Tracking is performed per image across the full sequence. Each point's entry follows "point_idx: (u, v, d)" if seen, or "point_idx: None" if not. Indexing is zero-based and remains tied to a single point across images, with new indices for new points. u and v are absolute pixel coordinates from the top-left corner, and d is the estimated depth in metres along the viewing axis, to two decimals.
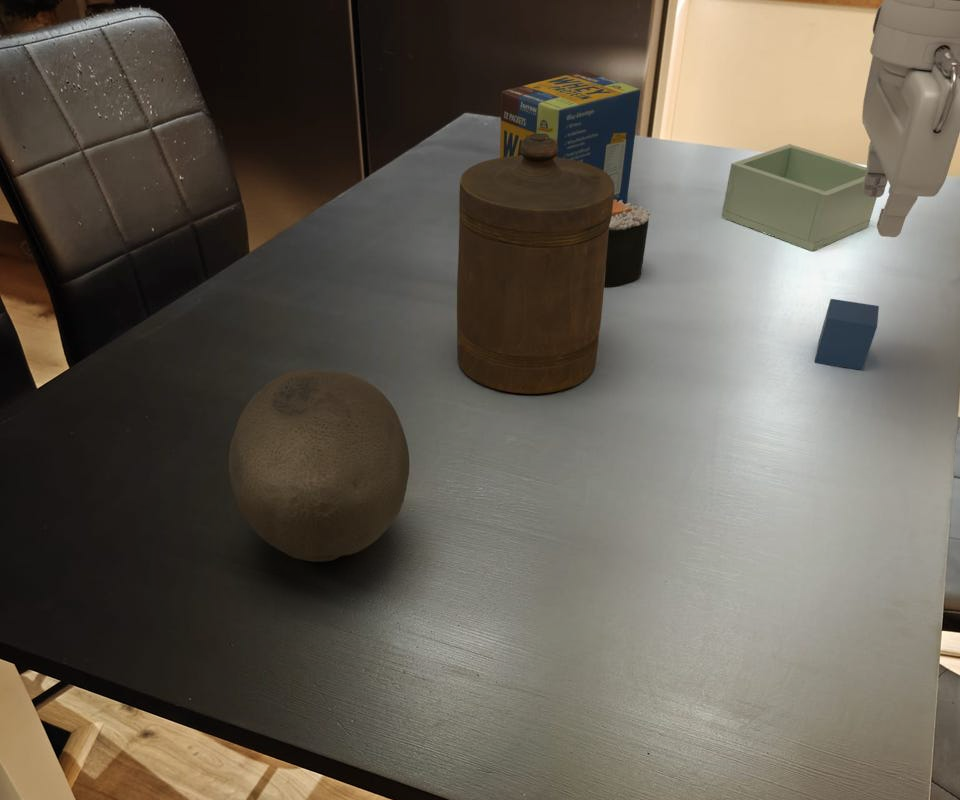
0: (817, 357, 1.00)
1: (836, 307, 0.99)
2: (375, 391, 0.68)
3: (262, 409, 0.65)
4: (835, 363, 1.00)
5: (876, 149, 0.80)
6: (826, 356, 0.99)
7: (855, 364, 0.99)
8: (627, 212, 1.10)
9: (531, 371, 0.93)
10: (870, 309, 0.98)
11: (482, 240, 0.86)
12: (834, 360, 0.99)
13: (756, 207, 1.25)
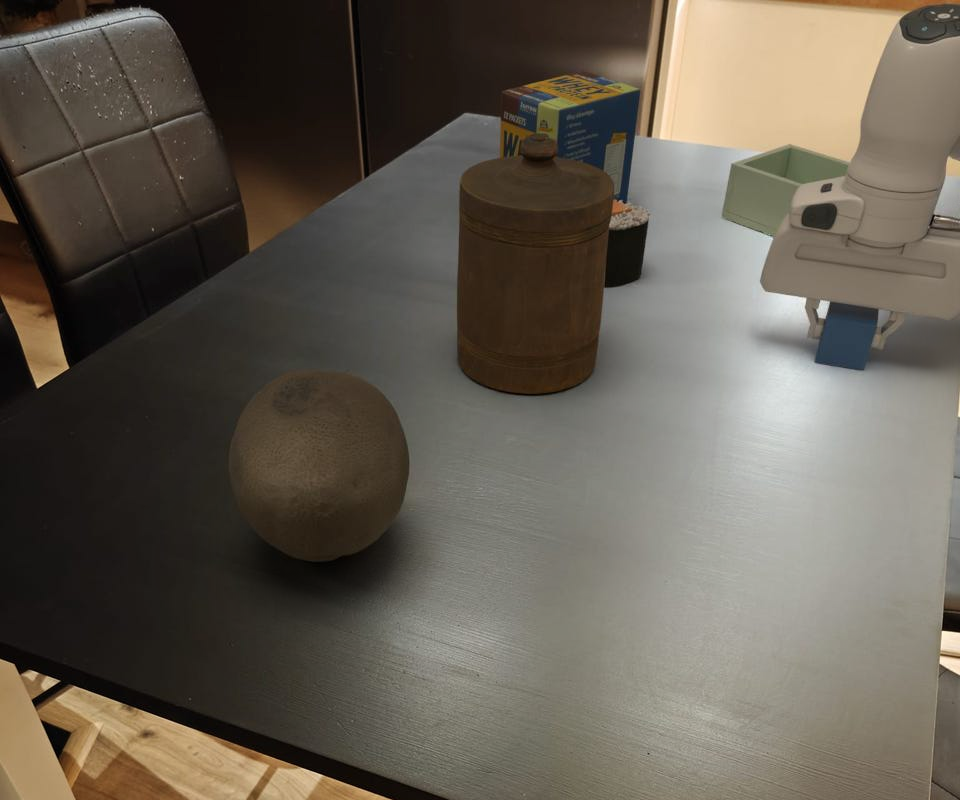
0: (817, 357, 1.00)
1: (836, 307, 0.99)
2: (375, 391, 0.68)
3: (262, 409, 0.65)
4: (835, 363, 1.00)
5: (857, 302, 0.95)
6: (826, 356, 0.99)
7: (855, 364, 0.99)
8: (627, 212, 1.10)
9: (531, 371, 0.93)
10: (871, 309, 0.98)
11: (482, 240, 0.86)
12: (834, 360, 0.99)
13: (756, 207, 1.25)
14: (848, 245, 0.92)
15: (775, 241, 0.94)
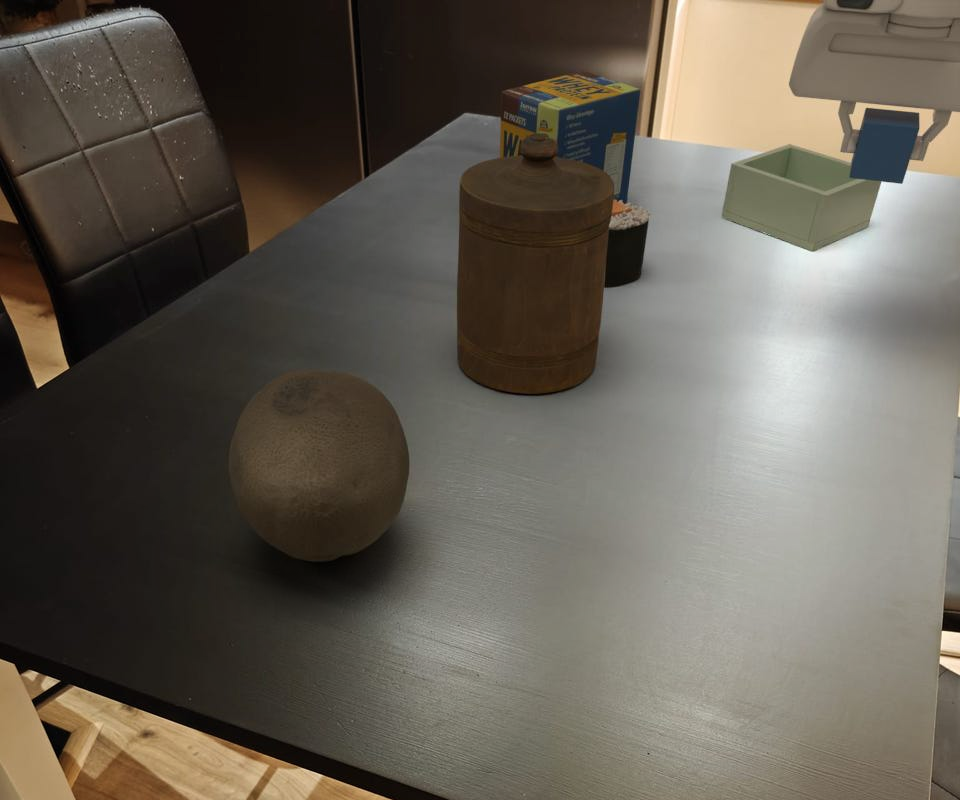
0: (852, 171, 0.91)
1: (873, 113, 0.90)
2: (375, 391, 0.68)
3: (262, 409, 0.65)
4: (872, 177, 0.91)
5: (897, 100, 0.87)
6: (862, 169, 0.91)
7: (894, 177, 0.90)
8: (627, 212, 1.10)
9: (531, 371, 0.93)
10: (910, 115, 0.90)
11: (482, 240, 0.86)
12: (871, 173, 0.91)
13: (756, 207, 1.25)
14: (888, 30, 0.83)
15: (807, 31, 0.85)
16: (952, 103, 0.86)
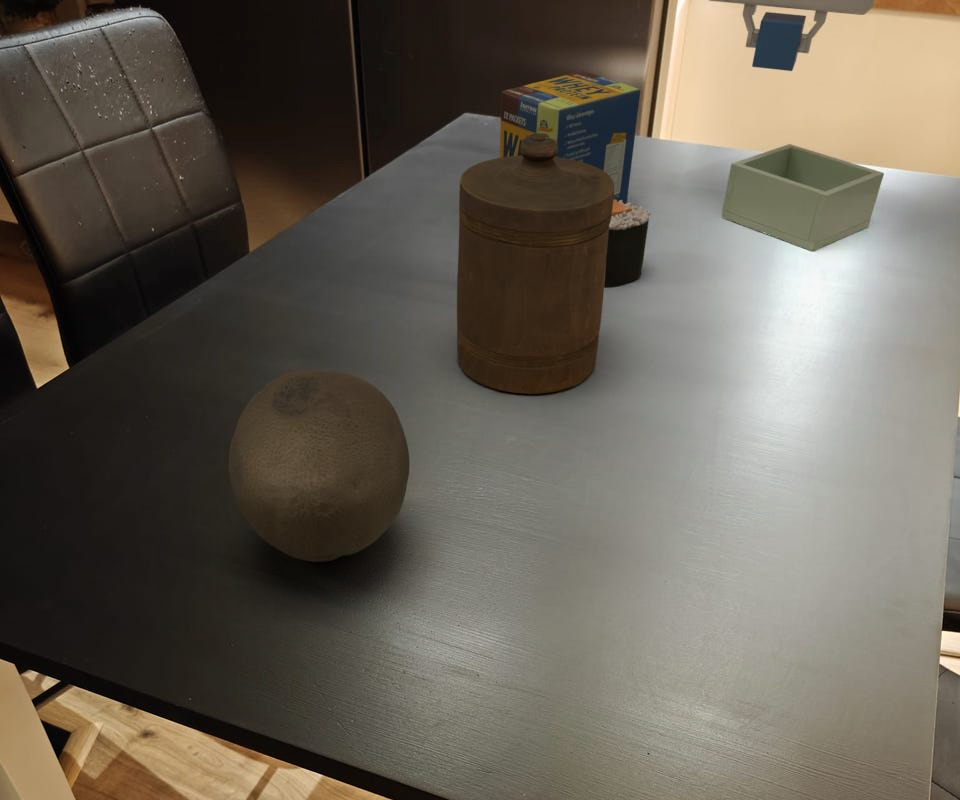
0: (754, 61, 1.17)
1: (770, 15, 1.16)
2: (375, 391, 0.68)
3: (262, 409, 0.65)
4: (769, 66, 1.17)
5: (785, 3, 1.13)
6: (761, 59, 1.17)
7: (785, 65, 1.16)
8: (627, 212, 1.10)
9: (531, 371, 0.93)
10: (798, 17, 1.16)
11: (482, 240, 0.86)
12: (768, 63, 1.17)
13: (756, 207, 1.25)
14: None
15: None
16: (826, 5, 1.12)
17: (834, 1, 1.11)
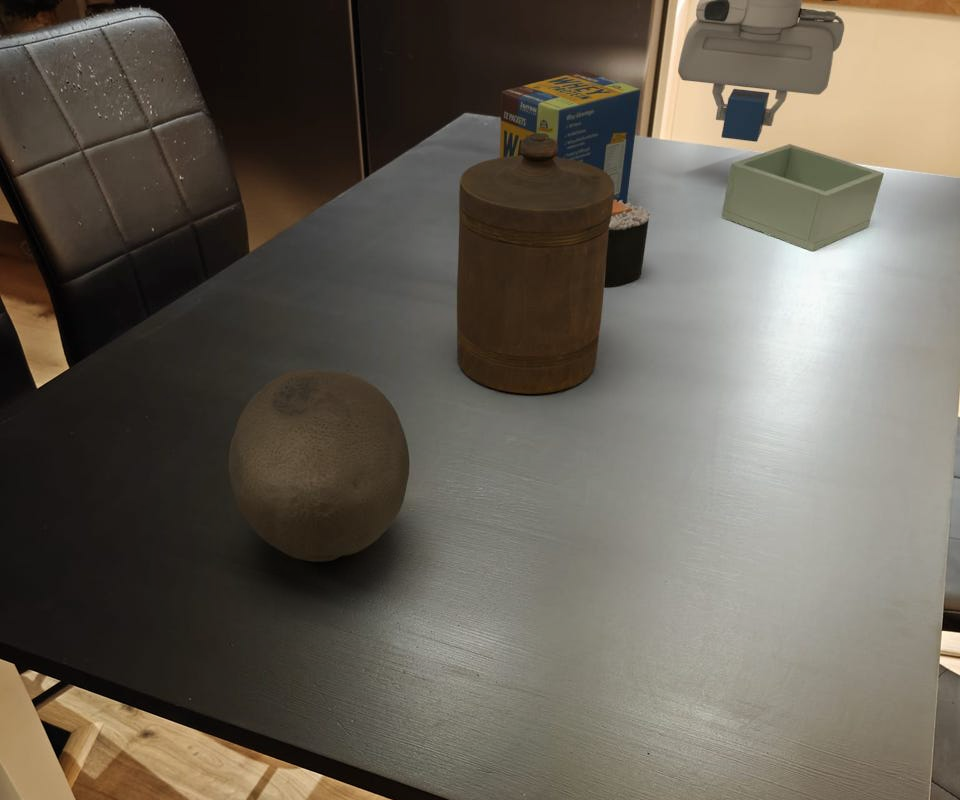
0: (723, 133, 1.31)
1: (736, 92, 1.30)
2: (375, 391, 0.68)
3: (262, 409, 0.65)
4: (736, 137, 1.31)
5: (750, 83, 1.27)
6: (729, 131, 1.31)
7: (751, 137, 1.30)
8: (627, 212, 1.10)
9: (531, 371, 0.93)
10: (762, 94, 1.30)
11: (482, 240, 0.86)
12: (735, 134, 1.31)
13: (756, 207, 1.25)
14: (740, 35, 1.23)
15: (687, 35, 1.25)
16: (785, 85, 1.26)
17: (792, 83, 1.25)
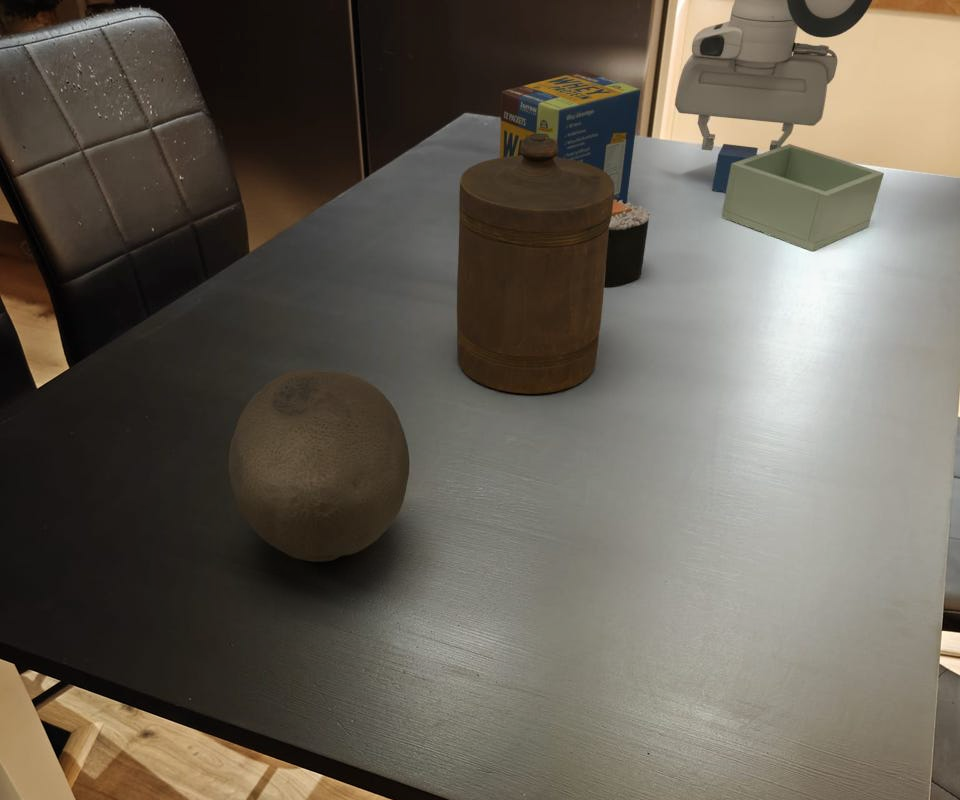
0: (713, 186, 1.36)
1: (726, 148, 1.35)
2: (375, 391, 0.68)
3: (262, 409, 0.65)
4: None
5: (745, 115, 1.29)
6: (719, 185, 1.36)
7: None
8: (627, 212, 1.10)
9: (531, 371, 0.93)
10: (751, 149, 1.35)
11: (482, 240, 0.86)
12: (725, 188, 1.36)
13: (756, 207, 1.25)
14: (735, 69, 1.26)
15: (683, 70, 1.28)
16: (781, 117, 1.28)
17: (787, 114, 1.28)
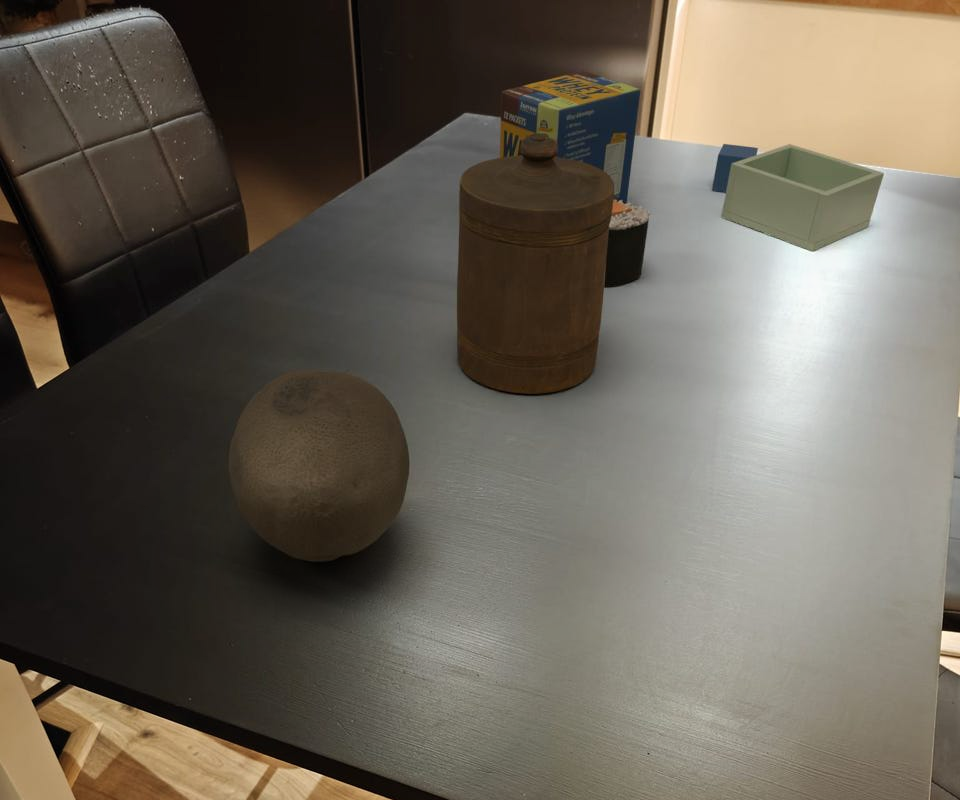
0: (713, 186, 1.36)
1: (726, 148, 1.35)
2: (375, 391, 0.68)
3: (262, 409, 0.65)
4: None
5: None
6: (719, 185, 1.36)
7: None
8: (627, 212, 1.10)
9: (531, 371, 0.93)
10: (751, 149, 1.35)
11: (482, 240, 0.86)
12: (725, 188, 1.36)
13: (756, 207, 1.25)
14: None
15: None
16: None
17: None
